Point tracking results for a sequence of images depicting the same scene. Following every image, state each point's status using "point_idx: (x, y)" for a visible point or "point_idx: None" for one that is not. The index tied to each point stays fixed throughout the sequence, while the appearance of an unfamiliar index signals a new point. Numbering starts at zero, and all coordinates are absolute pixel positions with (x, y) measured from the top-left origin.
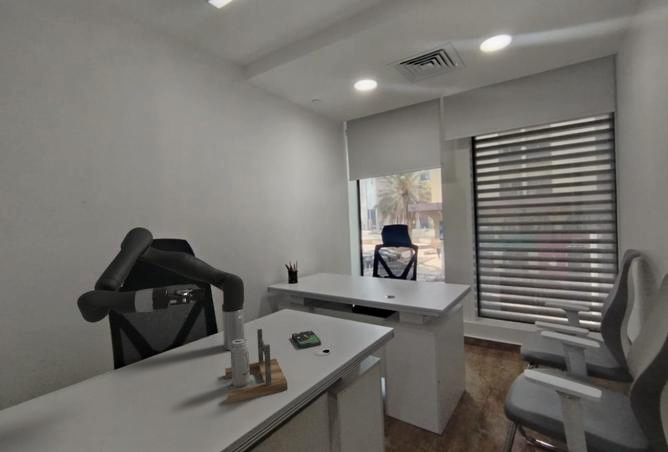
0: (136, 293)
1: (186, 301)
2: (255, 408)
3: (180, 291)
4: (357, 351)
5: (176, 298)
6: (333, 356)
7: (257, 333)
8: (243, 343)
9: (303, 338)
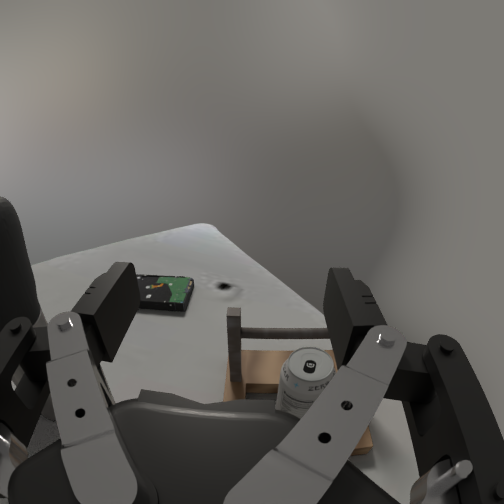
0: None
1: (436, 393)
2: (394, 406)
3: (123, 443)
4: (253, 261)
5: (493, 442)
6: (252, 285)
7: (229, 325)
8: (327, 355)
9: (160, 292)
